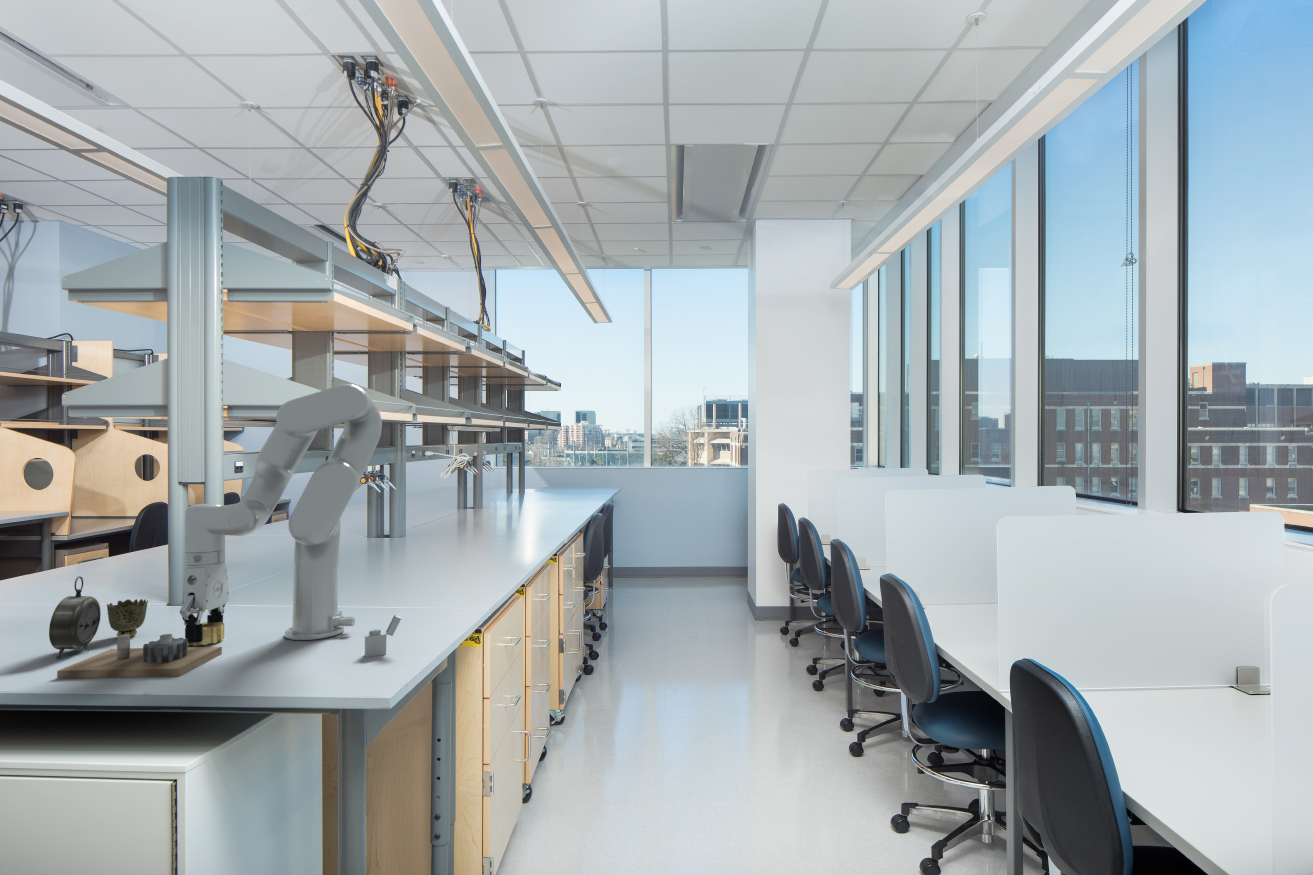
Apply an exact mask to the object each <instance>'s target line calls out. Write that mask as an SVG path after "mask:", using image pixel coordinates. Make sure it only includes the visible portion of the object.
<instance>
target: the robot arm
mask: <svg viewBox="0 0 1313 875" xmlns="http://www.w3.org/2000/svg"><path fill="white" fill-rule="evenodd" d="M275 420H276V423H275V425H274V427H273V429H272V431H271V432H270V434H269V436H268V437H267V439H266V441H265V443H264V444H263V446H262V448H261V449H260V450H259V452H258V454H257V456H256V459H255V460H256V461H255V471H254V475H253V477H252V479H251V481H250V483H249V485H248V487H247V489H246V490H245V493H244V494H243V495H242V498H240V501H239V502H237V503H233V504H232V503H231V504H227V505H226V504H225V505H222V504H221V503H198V504H192V505H189V506H187V508H186V509H185V512H184V567H185V571H184V577H183V578H184V579H183V584H182V585H183V587H182V588H183V589H182V606H181V607H180V609H179V613H180V616H181V617H182V620H183V625H184V626H185V628H186V639H188V643H198V642H201V641H202V624H200V623H202V622H201V621H202V618H203V614H204V612H206V613H207V612H208V614H207V615H206V622H207V623H208V622H222V623H224V613H225V606H226V604H227V603H228V602H229V598H230V597H229V595H230V594H229V579H228V578H229V577H228V570H227V565H226V536H233V537H243V536H244V537H245V536H247V535H250V534H252V533H254V532H256V531H258V530H260V529H261V528H262V527H264V526H265V524H267V522H268V520H269V519H270V518H271V516H272V514H273V512H274V510H275V509H276V507H277V505H278V504H279V502H280V500H281V498H282V496H283V494H284V492H285V490H286V488H287V486H288V484H290V481H291V479H292V478H293V476H294V473H295V472H296V470H297V468H298V467H299V464H300V463H301V461H302V459H303V458H304V456H305V454H306V452H307V450H308V449H309V447H310V445H311V444H312V442H313V441H314V439H315V438H316V435H317V434H318V432H319V431H322V430H325V429H327V428H331V427H334V426H337V425H341V424H343V423H344V427H343V430H342V431H341V434H340V435H339V437H338V439H337V441H336V443H335V446H334V448H333V450H332V451H331V453H330V455H329V456H328V458H327V460H326V461H325V462H323V463H321V464H320V465H319V466H318V467H317V468H316V469H315V470H314V472H313V474H312V475H311V477H310V478H309V481H308V482H307V484H306V486H305V487H304V490H303V491H302V494H301V496H300V497H299V499H298V501H297V503H296V505H295V507H294V509H293V510H292V512H291V514H290V516H289V519H288V531H289V533H290V535H291V537H292V538H293V539H294V540H295V541H294V553H293V554H294V555H293V578H292V579H293V586H292V588H293V590H292V591H293V592H292V626H291V627H290V628H287V629H286V630H284V637H285V638H286V639H288V640H292V641H293V640H294V641H311V640H320V639H321V640H322V639H327V638H330V637H333V636H337V635H339V634H342V633H343V632H344V631H345V627H354V626H355V623H356V619H355V618H354V617H353V616H343V614H342V610H338V609H339V608H338V604H339V603H338V601H339V596H338V595H339V563H340V557H339V556H340V536H341V518H342V516H343V514H344V512H345V510H346V508H347V506H348V505H349V502H350V501H351V499H352V497H353V495H354V493H355V492H356V491H357V490H358V488H359V485H360V482H361V479H362V477H363V475H364V473H365V471H366V469H367V467H368V465H369V463H370V461H371V458H372V456H373V454H374V453H375V452H374V451H375V450H376V448H377V446H378V444H379V441H380V438H381V435H382V430H383V429H382V428H383V422H382V421H383V420H382V417H381V412H380V410H379V408H378V407H377V405H376V403H375V402H374V400H373V399H372V398H371V396H370V395H369V394H368V393H367V392H366V391H365V390H364V389H363V388H362V387H360V386H358V385H355V384H350V383H348V384H347V383H344V384H339V385H336V386H333V387H329V388H326V389H323V390H320V391H317V392H316V391H315V392H314V393H310V394H307V395H303V396H299V397H296V398H293V399H290V400H288V401H286V402H284V403H283V404H282V405H280V406H279V408H278V410H277V411H276V416H275ZM195 614H196V616H195Z"/></svg>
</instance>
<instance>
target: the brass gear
mask: <svg viewBox="0 0 1313 875" xmlns="http://www.w3.org/2000/svg"><path fill="white" fill-rule="evenodd" d="M200 624H202V641H201V642H198V643H188V647H190V646H193V647H199V646H202V645H203V646H208V645H209V644H217V643H218V642H222V641H224V639H225V622H223V623H222V622H208V623H207V621H204V622H200ZM184 639H186V627H184Z"/></svg>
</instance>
